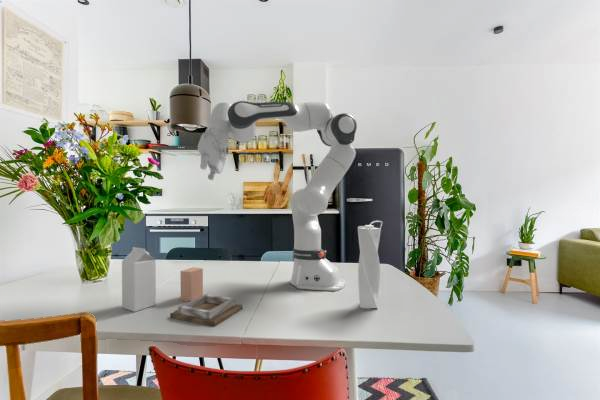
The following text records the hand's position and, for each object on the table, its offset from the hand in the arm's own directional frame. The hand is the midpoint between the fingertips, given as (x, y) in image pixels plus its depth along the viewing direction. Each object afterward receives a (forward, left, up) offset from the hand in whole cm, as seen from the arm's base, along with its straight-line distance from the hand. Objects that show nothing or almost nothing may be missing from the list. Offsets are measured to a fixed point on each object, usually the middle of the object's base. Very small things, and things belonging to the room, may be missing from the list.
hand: (206, 174), depth 111 cm
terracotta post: (+1, +6, -44) cm, 44 cm away
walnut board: (-13, +15, -44) cm, 48 cm away
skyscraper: (-58, -10, -44) cm, 73 cm away
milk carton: (+11, +19, -44) cm, 49 cm away
